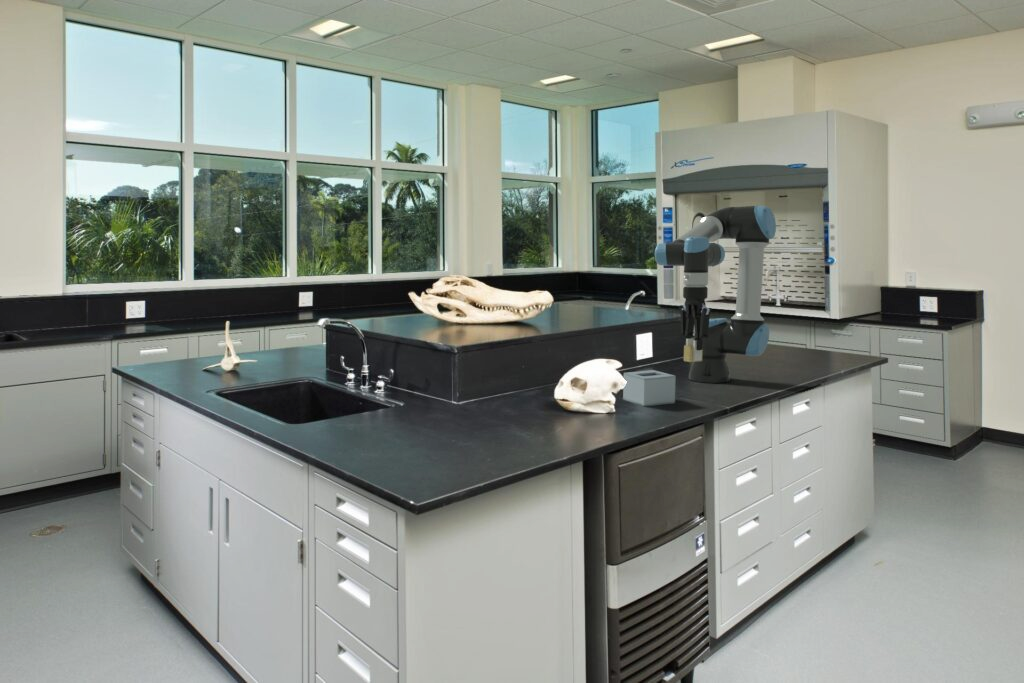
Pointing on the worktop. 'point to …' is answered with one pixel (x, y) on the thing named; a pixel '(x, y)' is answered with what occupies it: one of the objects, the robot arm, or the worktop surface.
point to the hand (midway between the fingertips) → (693, 359)
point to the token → (689, 353)
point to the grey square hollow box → (649, 388)
